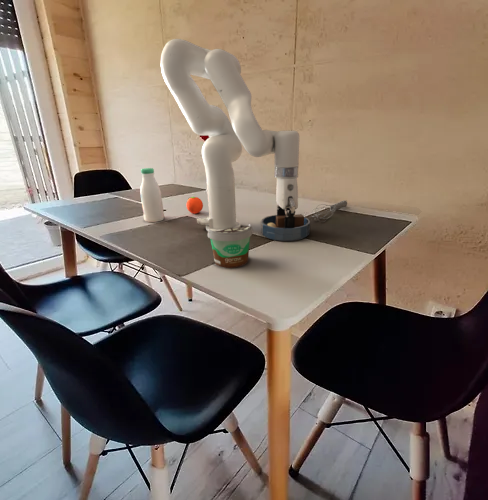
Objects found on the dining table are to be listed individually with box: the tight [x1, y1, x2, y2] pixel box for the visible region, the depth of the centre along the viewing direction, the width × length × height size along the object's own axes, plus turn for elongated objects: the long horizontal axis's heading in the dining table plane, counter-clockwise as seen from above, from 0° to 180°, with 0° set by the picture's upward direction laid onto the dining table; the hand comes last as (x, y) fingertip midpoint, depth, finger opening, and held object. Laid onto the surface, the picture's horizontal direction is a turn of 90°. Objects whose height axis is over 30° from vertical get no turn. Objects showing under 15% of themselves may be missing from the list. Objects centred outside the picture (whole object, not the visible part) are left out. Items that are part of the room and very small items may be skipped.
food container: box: [207, 223, 254, 269], centre depth 82 cm, size 12×6×10 cm, turn 114°
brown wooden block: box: [276, 213, 305, 228], centre depth 105 cm, size 9×3×6 cm, turn 101°
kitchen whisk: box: [311, 199, 348, 223], centre depth 127 cm, size 6×34×6 cm, turn 146°
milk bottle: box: [139, 167, 165, 223], centre depth 121 cm, size 8×8×20 cm
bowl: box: [260, 214, 311, 242], centre depth 105 cm, size 16×16×4 cm
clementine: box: [186, 196, 204, 214], centre depth 132 cm, size 8×7×7 cm
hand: (285, 224), depth 105 cm, fingers open, 9 cm apart
